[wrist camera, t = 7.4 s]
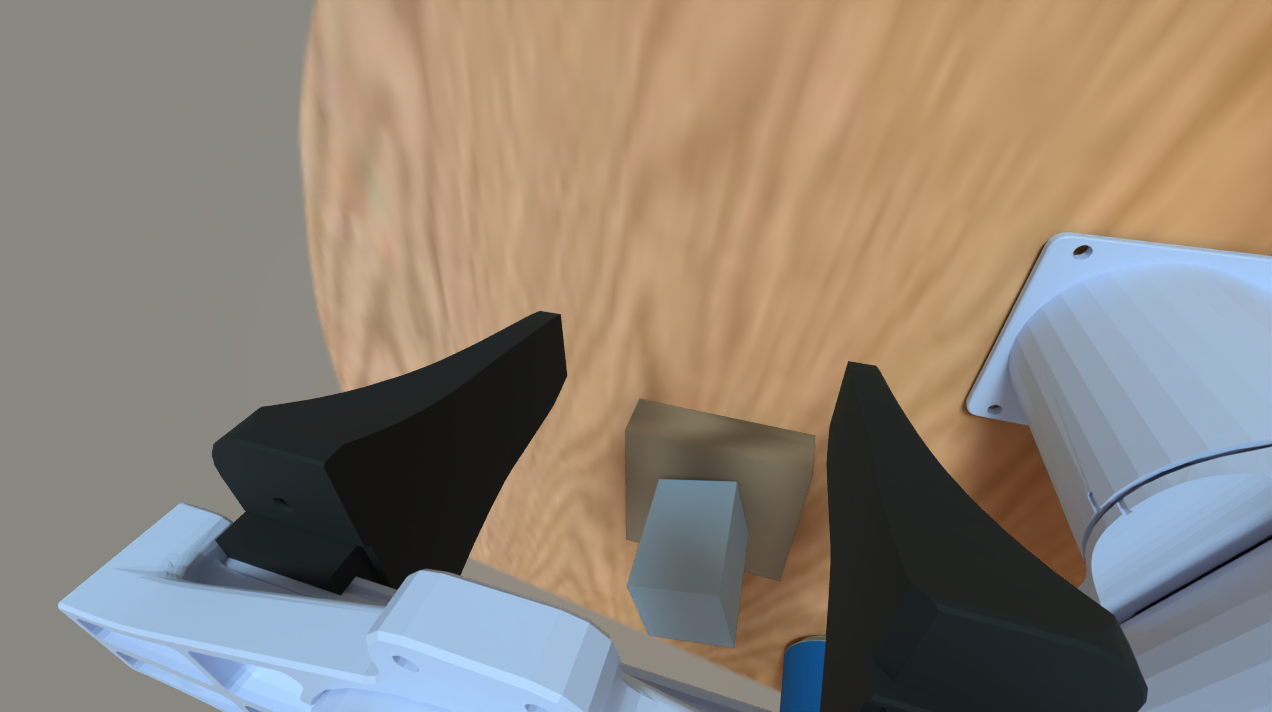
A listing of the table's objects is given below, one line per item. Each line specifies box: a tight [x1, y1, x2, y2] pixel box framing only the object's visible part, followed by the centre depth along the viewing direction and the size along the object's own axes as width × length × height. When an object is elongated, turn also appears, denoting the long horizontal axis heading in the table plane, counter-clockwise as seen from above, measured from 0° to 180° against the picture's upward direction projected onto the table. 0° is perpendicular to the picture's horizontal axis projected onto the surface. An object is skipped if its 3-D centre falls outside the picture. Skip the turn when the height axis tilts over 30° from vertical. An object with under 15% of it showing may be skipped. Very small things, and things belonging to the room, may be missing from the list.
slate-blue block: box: [627, 479, 748, 648], centre depth 25 cm, size 4×4×6 cm
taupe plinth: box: [625, 399, 815, 581], centre depth 29 cm, size 9×9×3 cm
